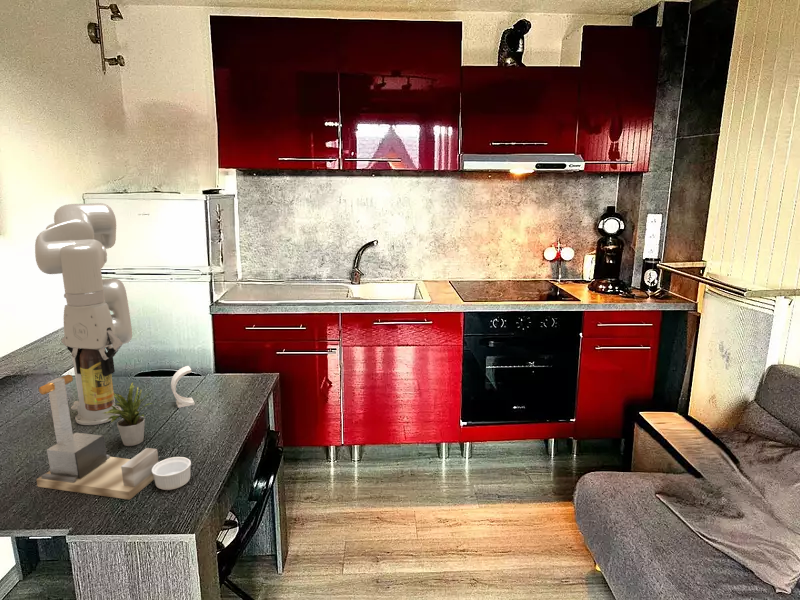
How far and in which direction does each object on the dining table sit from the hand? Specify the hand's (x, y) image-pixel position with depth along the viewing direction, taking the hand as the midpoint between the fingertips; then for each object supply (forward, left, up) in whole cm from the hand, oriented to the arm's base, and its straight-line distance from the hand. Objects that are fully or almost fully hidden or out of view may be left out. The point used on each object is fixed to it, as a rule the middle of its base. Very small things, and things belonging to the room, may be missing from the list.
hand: (96, 372), depth 129 cm
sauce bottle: (0, 0, -9) cm, 9 cm away
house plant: (-9, +19, -28) cm, 35 cm away
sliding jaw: (-9, 0, -26) cm, 27 cm away
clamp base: (-2, 0, -28) cm, 28 cm away
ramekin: (+15, +3, -28) cm, 32 cm away
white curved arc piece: (-9, +44, -28) cm, 53 cm away
